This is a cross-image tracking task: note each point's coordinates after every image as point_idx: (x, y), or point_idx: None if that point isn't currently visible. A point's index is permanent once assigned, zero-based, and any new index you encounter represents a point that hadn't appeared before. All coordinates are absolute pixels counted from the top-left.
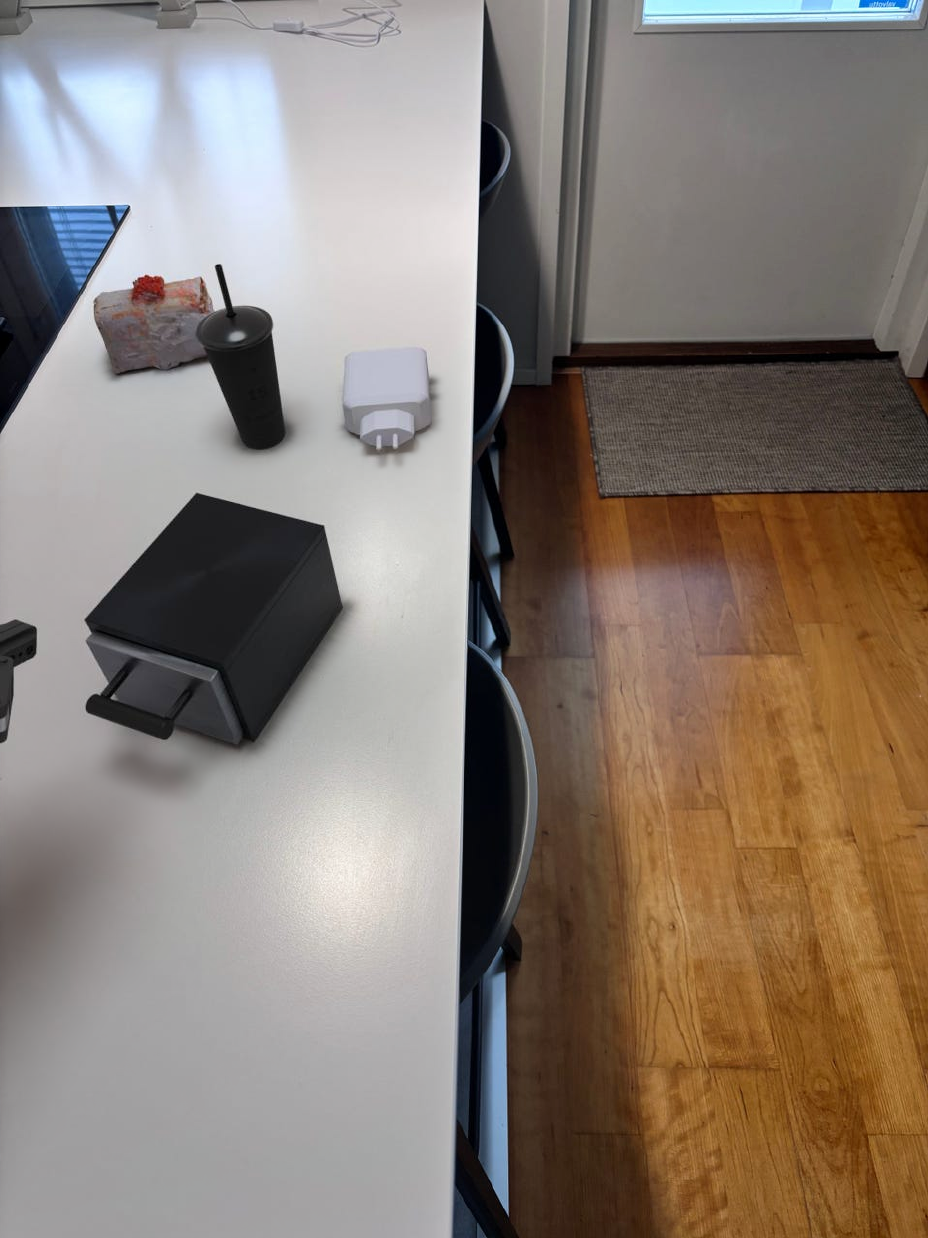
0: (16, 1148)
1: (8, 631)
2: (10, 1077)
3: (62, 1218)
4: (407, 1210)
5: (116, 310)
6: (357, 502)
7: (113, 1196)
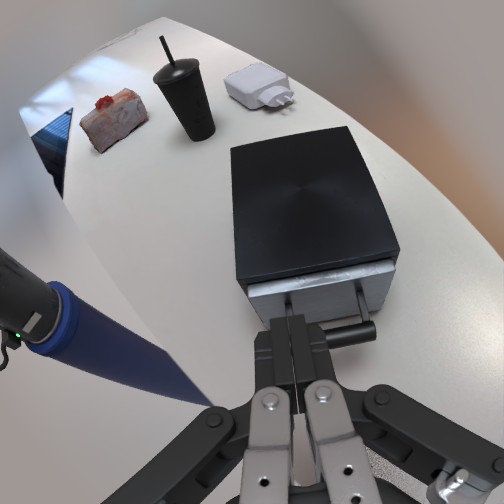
0: None
1: (295, 344)
2: None
3: None
4: None
5: (92, 118)
6: (291, 134)
7: None
